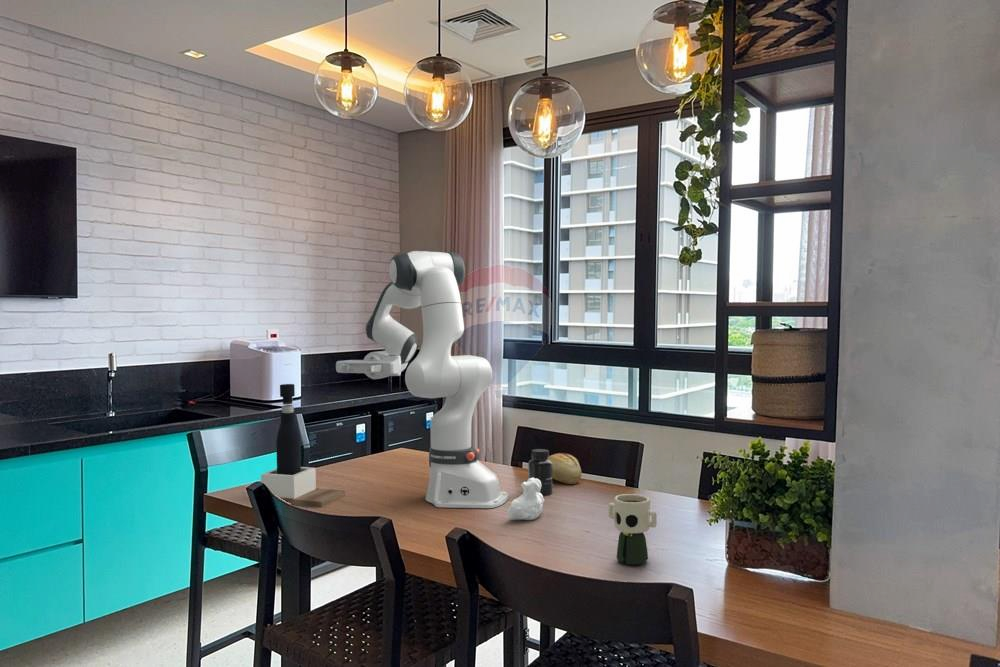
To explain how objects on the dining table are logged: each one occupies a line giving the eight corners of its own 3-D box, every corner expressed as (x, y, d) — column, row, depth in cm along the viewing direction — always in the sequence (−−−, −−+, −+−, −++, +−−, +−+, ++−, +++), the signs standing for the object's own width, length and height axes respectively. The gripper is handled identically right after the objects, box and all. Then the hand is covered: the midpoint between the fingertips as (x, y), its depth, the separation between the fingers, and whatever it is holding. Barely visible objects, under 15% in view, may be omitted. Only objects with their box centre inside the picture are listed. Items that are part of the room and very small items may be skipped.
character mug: (599, 560, 143) (599, 497, 142) (618, 551, 148) (617, 490, 148) (647, 573, 135) (647, 506, 135) (665, 562, 141) (664, 498, 140)
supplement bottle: (553, 496, 192) (552, 452, 192) (528, 496, 192) (528, 453, 192) (552, 489, 199) (551, 447, 199) (528, 489, 199) (527, 448, 199)
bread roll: (555, 473, 219) (554, 448, 219) (590, 482, 208) (590, 455, 207) (532, 478, 213) (532, 452, 213) (567, 487, 201) (567, 460, 201)
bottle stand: (345, 495, 195) (344, 469, 195) (321, 507, 184) (321, 479, 183) (283, 491, 201) (282, 465, 201) (257, 502, 190) (256, 474, 189)
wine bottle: (283, 496, 189) (280, 386, 188) (273, 492, 194) (271, 384, 193) (305, 492, 193) (303, 384, 192) (295, 488, 198) (293, 382, 197)
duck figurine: (513, 533, 167) (535, 501, 163) (494, 509, 171) (515, 477, 166) (543, 521, 177) (565, 490, 172) (524, 499, 180) (545, 468, 175)
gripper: (348, 355, 229) (325, 358, 216) (405, 355, 223) (385, 358, 210) (348, 374, 229) (325, 378, 216) (405, 375, 223) (385, 379, 210)
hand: (355, 368), depth 213 cm, fingers open, 8 cm apart
